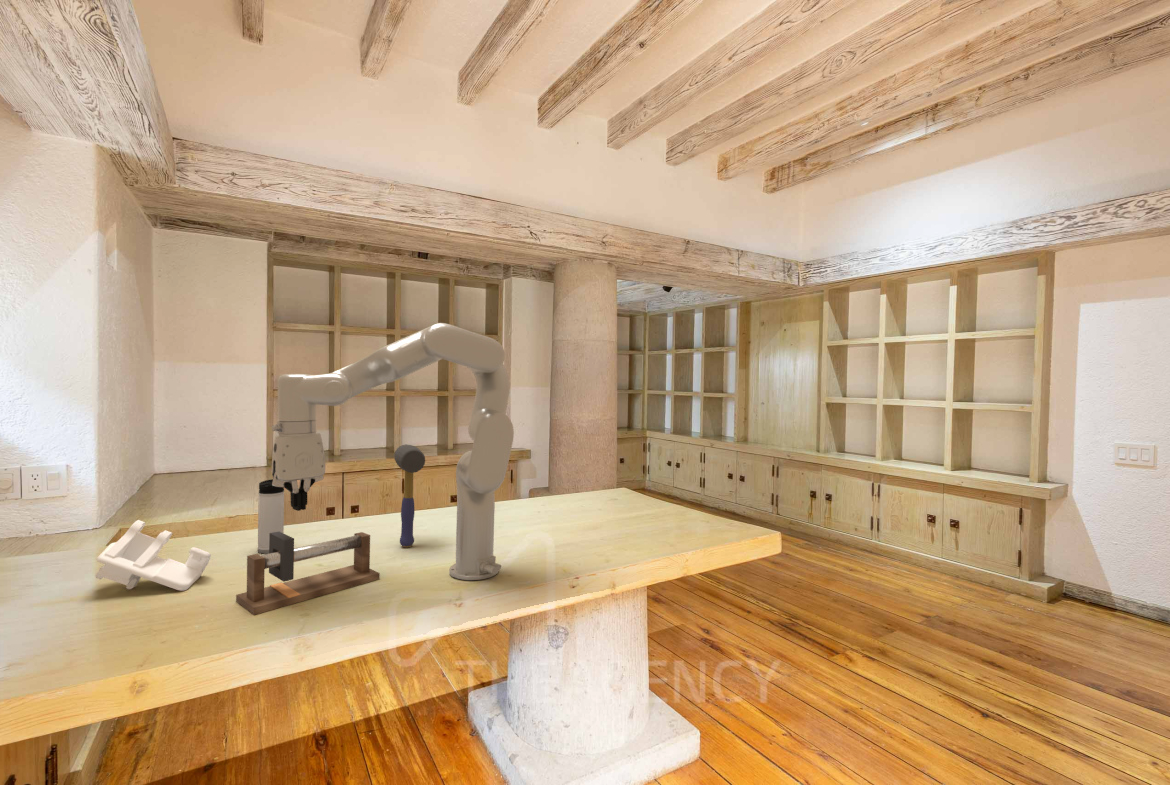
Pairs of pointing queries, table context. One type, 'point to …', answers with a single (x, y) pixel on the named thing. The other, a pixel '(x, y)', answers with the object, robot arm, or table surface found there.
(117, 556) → the white angular bracket piece
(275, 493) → the travel mug
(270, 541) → the collar
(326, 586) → the pipe stand
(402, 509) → the rubber mallet
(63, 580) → the table surface
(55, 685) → the table surface
